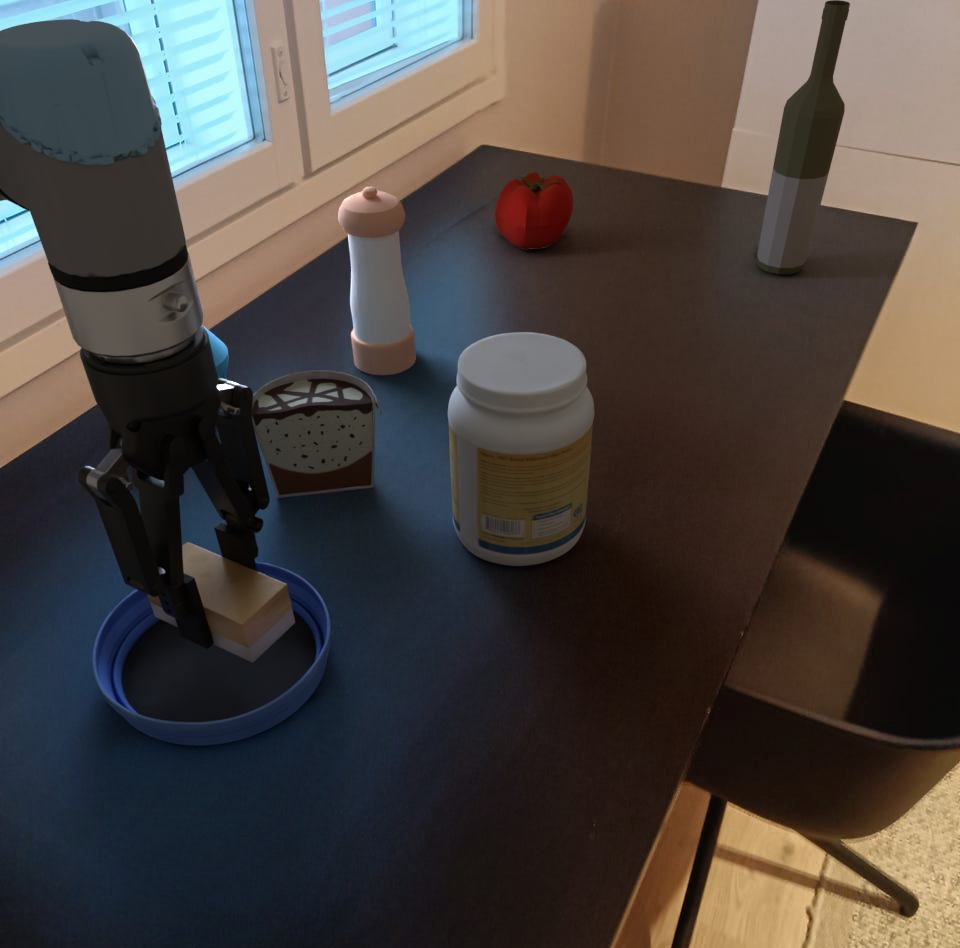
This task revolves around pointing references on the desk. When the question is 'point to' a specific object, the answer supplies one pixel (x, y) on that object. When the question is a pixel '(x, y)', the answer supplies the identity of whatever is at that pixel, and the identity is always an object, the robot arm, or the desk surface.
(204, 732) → the blue ring
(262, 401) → the food container
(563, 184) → the tomato
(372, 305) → the pepper shaker
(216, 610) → the eraser
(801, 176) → the bottle
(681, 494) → the desk surface
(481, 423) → the supplement tub
